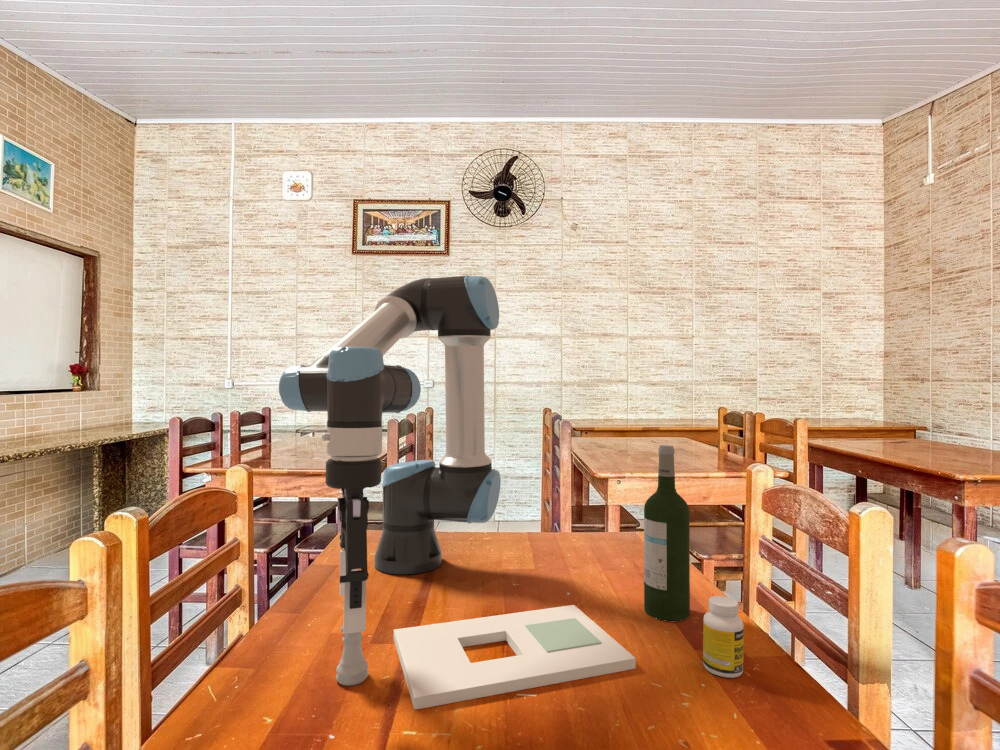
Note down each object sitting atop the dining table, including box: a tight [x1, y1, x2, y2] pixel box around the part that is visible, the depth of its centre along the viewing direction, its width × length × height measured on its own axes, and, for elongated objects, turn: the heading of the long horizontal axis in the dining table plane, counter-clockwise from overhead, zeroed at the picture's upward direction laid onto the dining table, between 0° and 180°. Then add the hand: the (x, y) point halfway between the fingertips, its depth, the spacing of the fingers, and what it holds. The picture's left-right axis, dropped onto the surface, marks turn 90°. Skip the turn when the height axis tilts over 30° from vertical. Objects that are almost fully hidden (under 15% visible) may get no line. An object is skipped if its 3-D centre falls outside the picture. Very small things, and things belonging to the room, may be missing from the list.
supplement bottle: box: [702, 595, 745, 679], centre depth 78 cm, size 5×5×10 cm
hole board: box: [393, 604, 637, 711], centre depth 83 cm, size 20×32×2 cm, turn 108°
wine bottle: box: [643, 444, 691, 622], centre depth 98 cm, size 8×8×30 cm
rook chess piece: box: [335, 624, 369, 687], centre depth 75 cm, size 4×4×8 cm
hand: (351, 611), depth 75 cm, fingers open, 13 cm apart
